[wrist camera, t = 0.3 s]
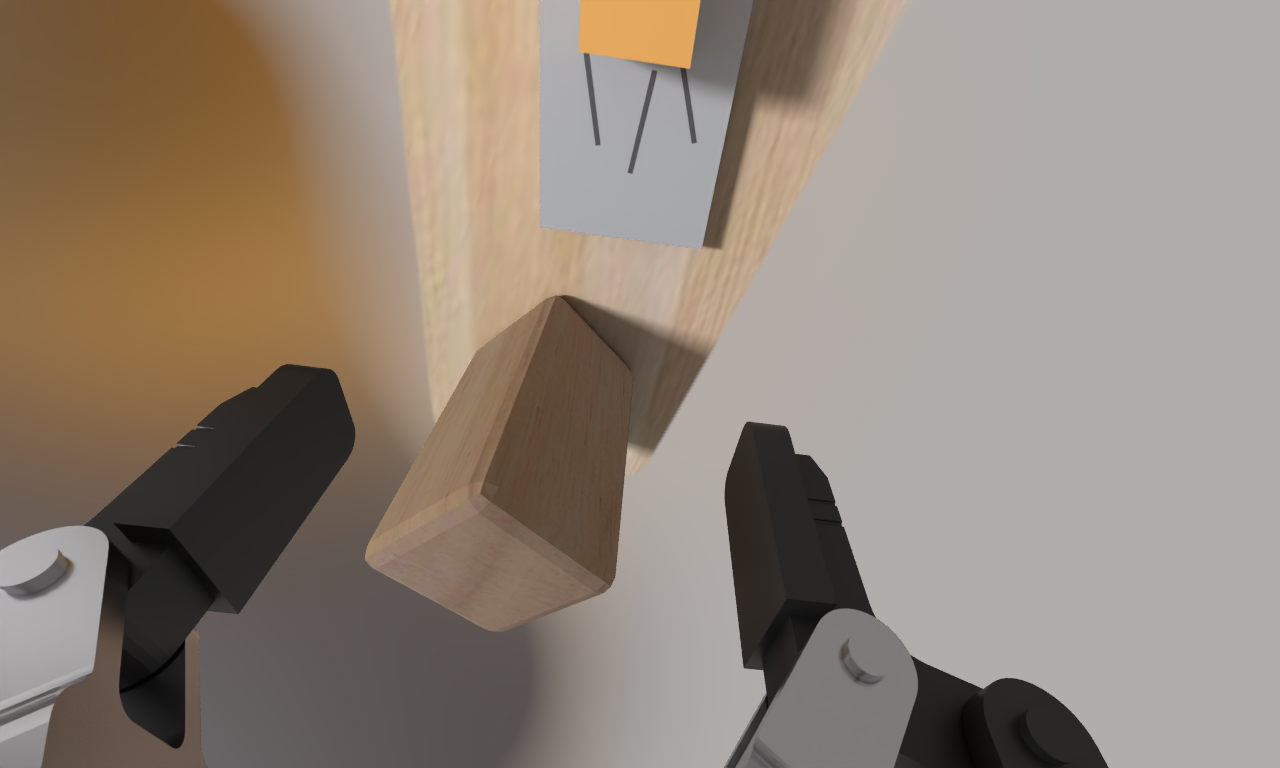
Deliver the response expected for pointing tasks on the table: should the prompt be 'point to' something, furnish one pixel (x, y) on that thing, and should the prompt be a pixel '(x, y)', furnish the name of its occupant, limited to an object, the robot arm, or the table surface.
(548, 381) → the block
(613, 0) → the block
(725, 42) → the board
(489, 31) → the table surface
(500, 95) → the table surface
